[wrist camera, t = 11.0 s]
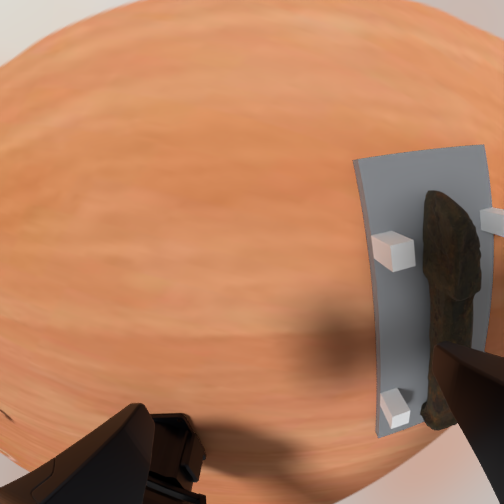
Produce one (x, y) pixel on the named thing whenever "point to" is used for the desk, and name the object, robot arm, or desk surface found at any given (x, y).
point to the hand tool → (448, 288)
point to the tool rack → (417, 264)
